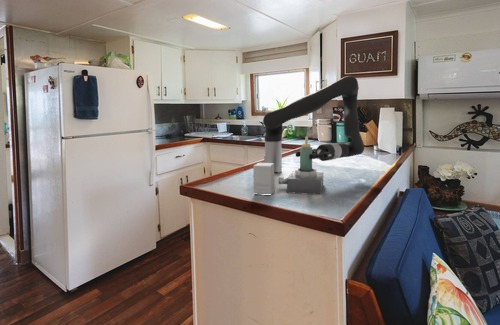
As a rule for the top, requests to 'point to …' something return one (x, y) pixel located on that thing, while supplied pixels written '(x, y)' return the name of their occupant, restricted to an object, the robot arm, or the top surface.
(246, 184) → the top surface
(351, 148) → the robot arm
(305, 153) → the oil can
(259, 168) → the supplement box
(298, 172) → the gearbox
